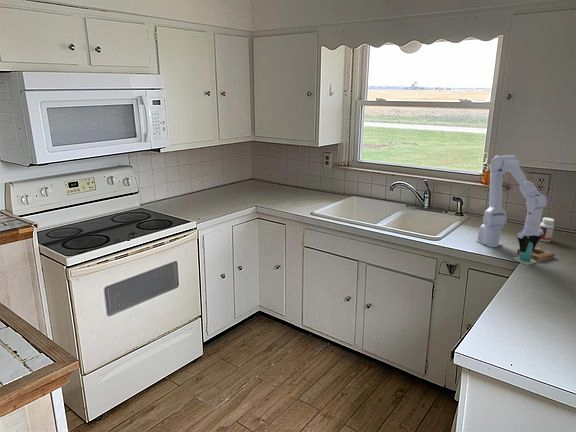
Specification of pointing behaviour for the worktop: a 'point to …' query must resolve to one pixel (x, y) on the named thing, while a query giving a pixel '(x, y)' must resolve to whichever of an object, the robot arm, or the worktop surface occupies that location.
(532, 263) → the rubber mat
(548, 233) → the pill bottle
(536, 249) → the header block
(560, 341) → the worktop surface
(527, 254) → the teal cylinder
